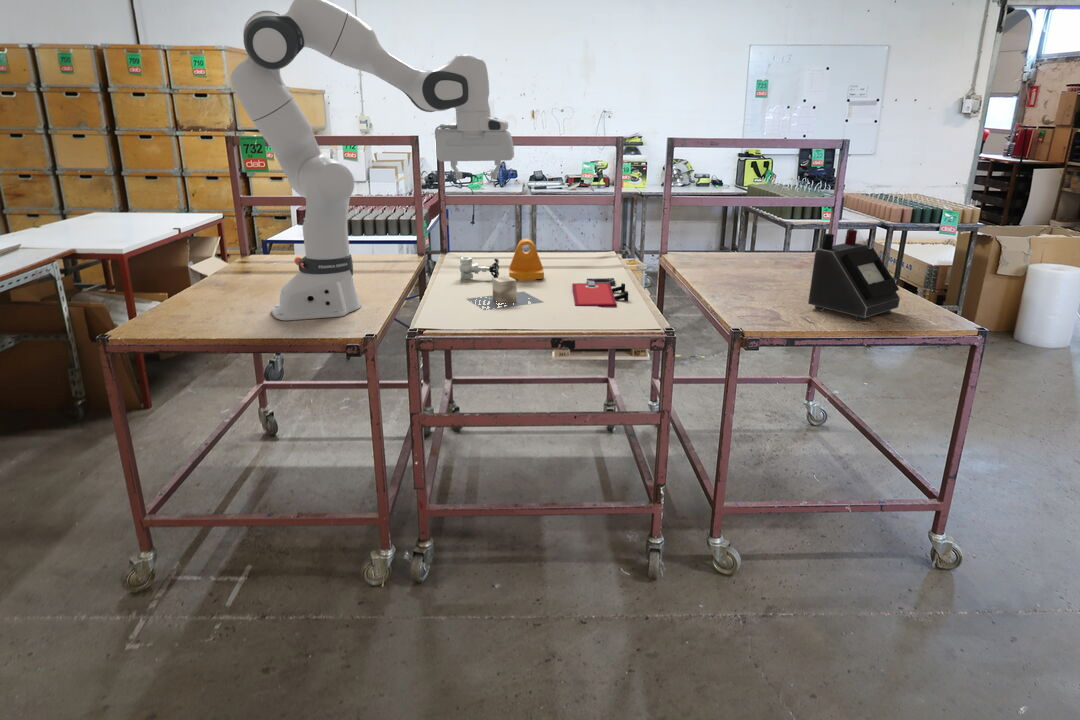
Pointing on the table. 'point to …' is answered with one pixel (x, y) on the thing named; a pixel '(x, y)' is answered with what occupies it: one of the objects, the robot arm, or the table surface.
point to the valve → (476, 268)
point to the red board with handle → (598, 293)
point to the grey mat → (521, 300)
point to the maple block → (504, 289)
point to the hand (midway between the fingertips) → (476, 178)
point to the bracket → (526, 263)
